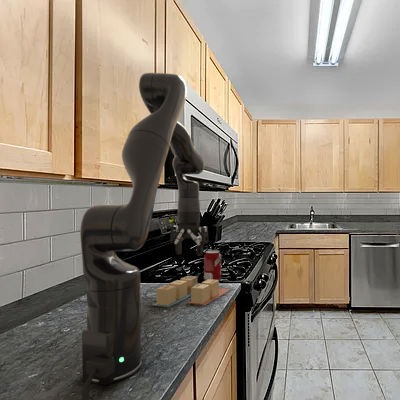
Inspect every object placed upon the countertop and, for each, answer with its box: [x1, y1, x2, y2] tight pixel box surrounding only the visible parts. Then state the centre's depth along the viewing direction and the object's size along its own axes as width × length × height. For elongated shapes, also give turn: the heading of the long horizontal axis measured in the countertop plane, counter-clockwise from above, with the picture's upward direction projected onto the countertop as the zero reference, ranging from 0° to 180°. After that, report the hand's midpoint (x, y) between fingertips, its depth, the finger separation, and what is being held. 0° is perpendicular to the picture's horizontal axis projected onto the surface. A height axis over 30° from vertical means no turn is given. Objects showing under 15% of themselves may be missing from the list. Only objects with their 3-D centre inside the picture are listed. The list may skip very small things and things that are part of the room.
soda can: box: [203, 249, 222, 281], centre depth 127 cm, size 7×7×12 cm
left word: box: [151, 279, 191, 308], centre depth 105 cm, size 18×6×5 cm, turn 165°
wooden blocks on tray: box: [188, 279, 231, 306], centre depth 107 cm, size 17×6×5 cm, turn 165°
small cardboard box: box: [180, 275, 198, 294], centre depth 111 cm, size 4×4×5 cm
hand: (189, 254), depth 111 cm, fingers open, 8 cm apart
